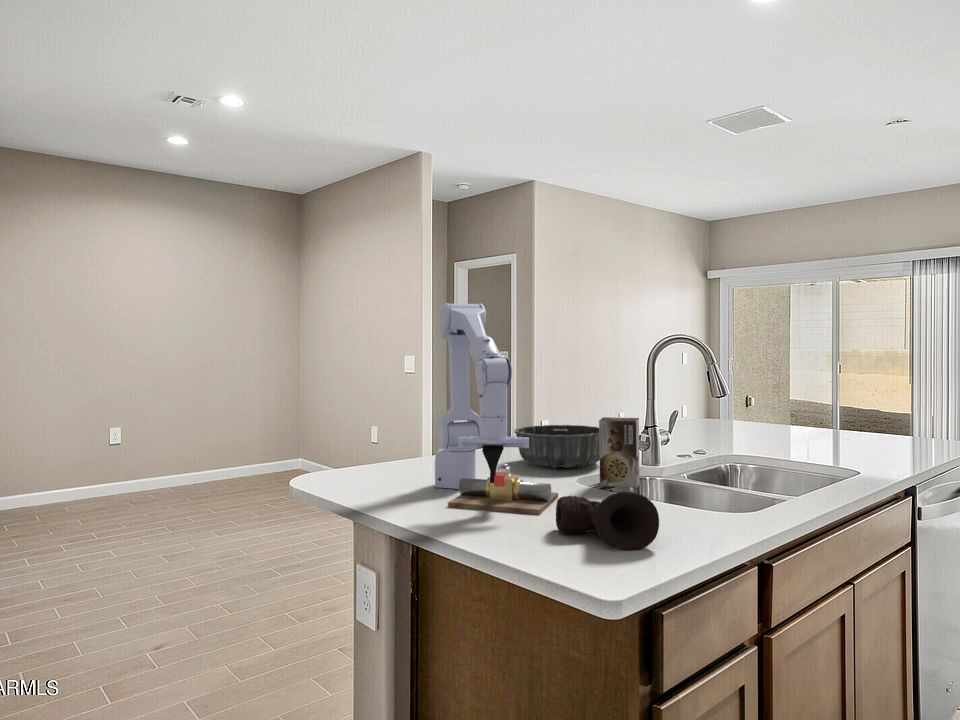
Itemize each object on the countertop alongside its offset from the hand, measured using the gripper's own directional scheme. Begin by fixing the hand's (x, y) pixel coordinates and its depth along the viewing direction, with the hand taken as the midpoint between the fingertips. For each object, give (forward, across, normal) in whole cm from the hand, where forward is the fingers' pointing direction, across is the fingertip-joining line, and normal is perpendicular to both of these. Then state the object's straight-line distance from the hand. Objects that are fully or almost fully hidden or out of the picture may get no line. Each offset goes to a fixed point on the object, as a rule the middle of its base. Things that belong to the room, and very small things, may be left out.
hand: (493, 482), depth 140 cm
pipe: (+6, +21, -17) cm, 28 cm away
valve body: (+6, +2, +8) cm, 10 cm away
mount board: (+6, +2, +8) cm, 10 cm away
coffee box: (+6, +28, +28) cm, 40 cm away
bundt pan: (+6, +14, +55) cm, 58 cm away
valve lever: (0, +2, +3) cm, 4 cm away
